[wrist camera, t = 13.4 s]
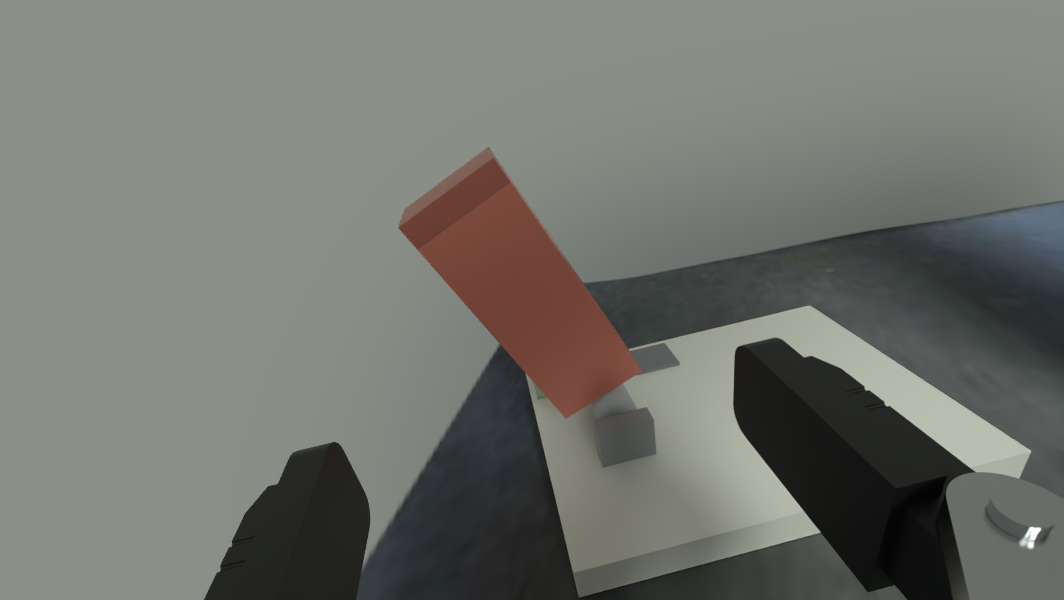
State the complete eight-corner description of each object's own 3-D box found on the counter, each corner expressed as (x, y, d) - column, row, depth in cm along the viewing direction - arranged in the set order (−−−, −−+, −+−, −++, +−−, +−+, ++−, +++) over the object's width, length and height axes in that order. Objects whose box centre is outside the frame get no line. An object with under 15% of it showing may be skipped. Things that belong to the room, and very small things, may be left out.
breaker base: (807, 326, 28) (813, 275, 27) (1018, 479, 18) (1049, 410, 16) (530, 393, 27) (519, 345, 26) (578, 597, 17) (565, 536, 15)
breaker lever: (639, 363, 23) (487, 145, 18) (664, 403, 21) (494, 159, 15) (573, 404, 24) (405, 206, 18) (589, 449, 21) (397, 231, 15)
